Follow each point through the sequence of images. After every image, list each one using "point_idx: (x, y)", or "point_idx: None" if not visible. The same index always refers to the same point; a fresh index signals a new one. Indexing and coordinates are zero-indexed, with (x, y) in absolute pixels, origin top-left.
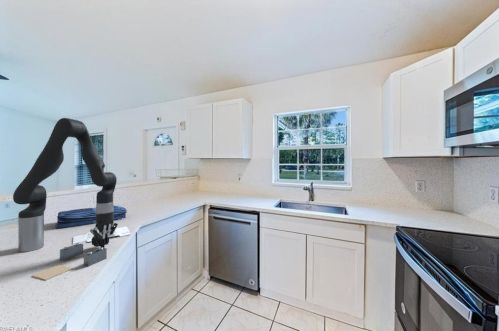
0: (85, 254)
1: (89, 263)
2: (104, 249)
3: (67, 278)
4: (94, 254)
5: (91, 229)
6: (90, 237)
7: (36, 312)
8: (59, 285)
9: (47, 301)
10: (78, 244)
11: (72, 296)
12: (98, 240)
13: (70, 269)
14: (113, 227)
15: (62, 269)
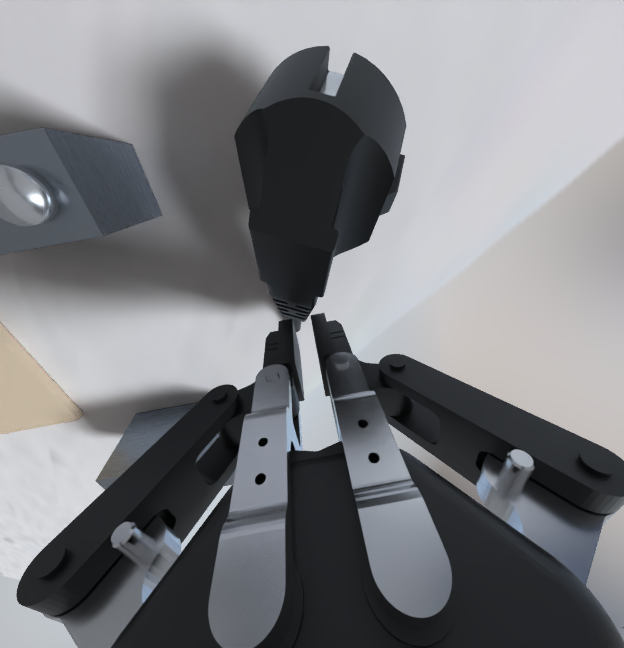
0: (106, 485)
1: None
2: (226, 483)
3: (64, 466)
4: None
5: (34, 607)
6: None
7: (3, 554)
8: (39, 490)
9: (20, 535)
10: (32, 226)
11: None
12: (279, 281)
13: (67, 419)
14: (471, 471)
15: (19, 399)
